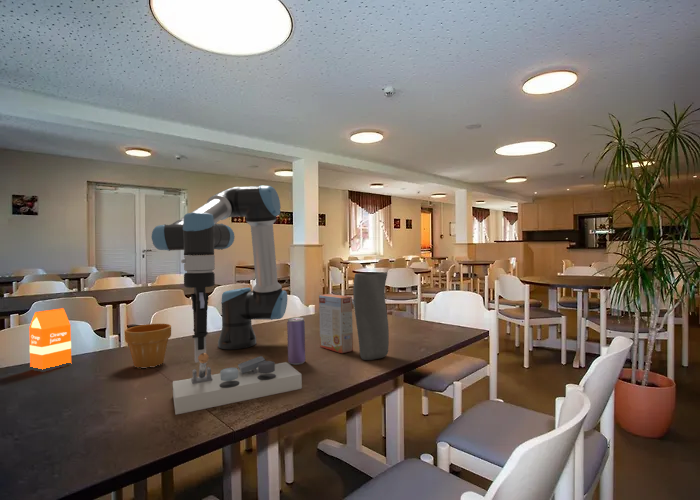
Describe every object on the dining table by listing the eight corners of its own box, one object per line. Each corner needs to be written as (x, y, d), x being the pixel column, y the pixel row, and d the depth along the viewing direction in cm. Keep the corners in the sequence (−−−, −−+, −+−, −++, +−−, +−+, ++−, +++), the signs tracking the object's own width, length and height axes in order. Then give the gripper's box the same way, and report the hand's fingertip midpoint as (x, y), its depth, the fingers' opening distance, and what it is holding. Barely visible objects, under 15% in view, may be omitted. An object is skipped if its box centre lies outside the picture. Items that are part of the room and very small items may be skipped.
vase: (364, 364, 123) (362, 275, 123) (349, 355, 134) (347, 273, 134) (396, 359, 128) (394, 273, 128) (379, 351, 139) (377, 271, 139)
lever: (196, 373, 100) (198, 351, 95) (206, 371, 101) (208, 350, 96) (197, 382, 99) (199, 360, 93) (207, 380, 100) (210, 358, 94)
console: (173, 396, 100) (172, 370, 100) (287, 374, 115) (286, 352, 115) (175, 414, 88) (174, 385, 88) (301, 388, 103) (301, 363, 103)
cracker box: (354, 351, 140) (352, 296, 140) (341, 354, 136) (340, 297, 136) (331, 344, 151) (330, 293, 151) (319, 347, 147) (318, 294, 147)
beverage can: (302, 365, 124) (301, 320, 124) (285, 364, 125) (284, 320, 125) (307, 360, 130) (306, 317, 130) (291, 359, 131) (290, 317, 131)
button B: (219, 376, 98) (219, 369, 98) (236, 373, 100) (236, 366, 100) (221, 382, 94) (221, 374, 94) (239, 378, 96) (239, 371, 96)
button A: (256, 369, 103) (256, 362, 103) (272, 367, 105) (272, 360, 105) (260, 374, 99) (260, 367, 99) (276, 371, 101) (276, 364, 101)
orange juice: (71, 365, 130) (70, 308, 130) (42, 373, 122) (40, 312, 122) (59, 362, 133) (57, 307, 133) (29, 370, 125) (28, 311, 125)
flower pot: (178, 363, 129) (177, 326, 129) (133, 374, 118) (132, 334, 118) (163, 356, 138) (162, 321, 138) (120, 365, 128) (119, 328, 128)
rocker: (238, 369, 107) (237, 364, 107) (262, 360, 110) (261, 355, 110) (242, 373, 103) (241, 368, 103) (266, 364, 106) (265, 359, 106)
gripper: (182, 271, 101) (183, 356, 101) (185, 273, 90) (186, 370, 90) (211, 270, 105) (212, 353, 105) (218, 272, 93) (219, 365, 93)
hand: (200, 361), depth 97 cm, fingers closed
